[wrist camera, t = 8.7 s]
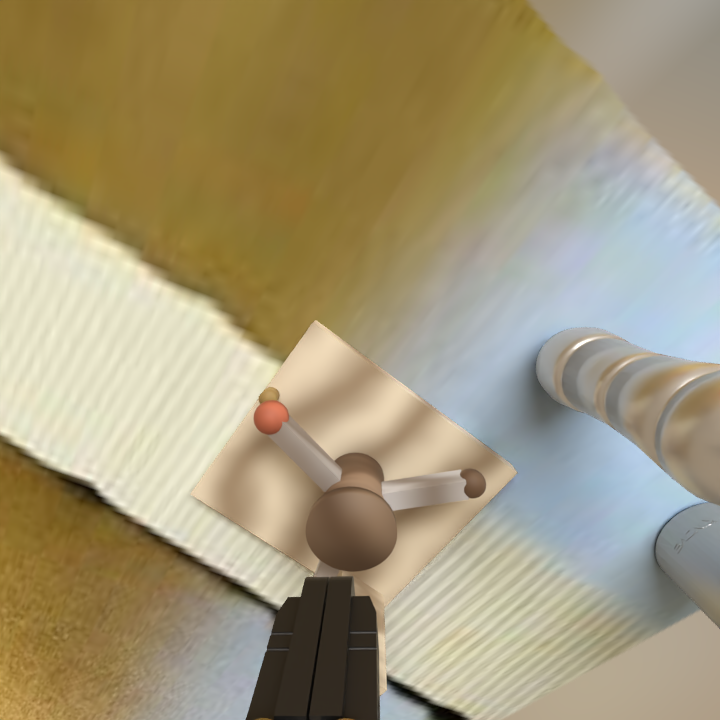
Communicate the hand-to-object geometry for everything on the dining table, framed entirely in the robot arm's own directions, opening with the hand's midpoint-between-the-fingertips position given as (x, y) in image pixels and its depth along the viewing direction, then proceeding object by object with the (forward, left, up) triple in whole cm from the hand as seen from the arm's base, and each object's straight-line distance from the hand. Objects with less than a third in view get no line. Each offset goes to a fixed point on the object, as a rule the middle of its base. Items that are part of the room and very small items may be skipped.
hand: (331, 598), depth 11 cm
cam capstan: (-2, +6, -19) cm, 19 cm away
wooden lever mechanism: (-4, +7, -20) cm, 22 cm away
